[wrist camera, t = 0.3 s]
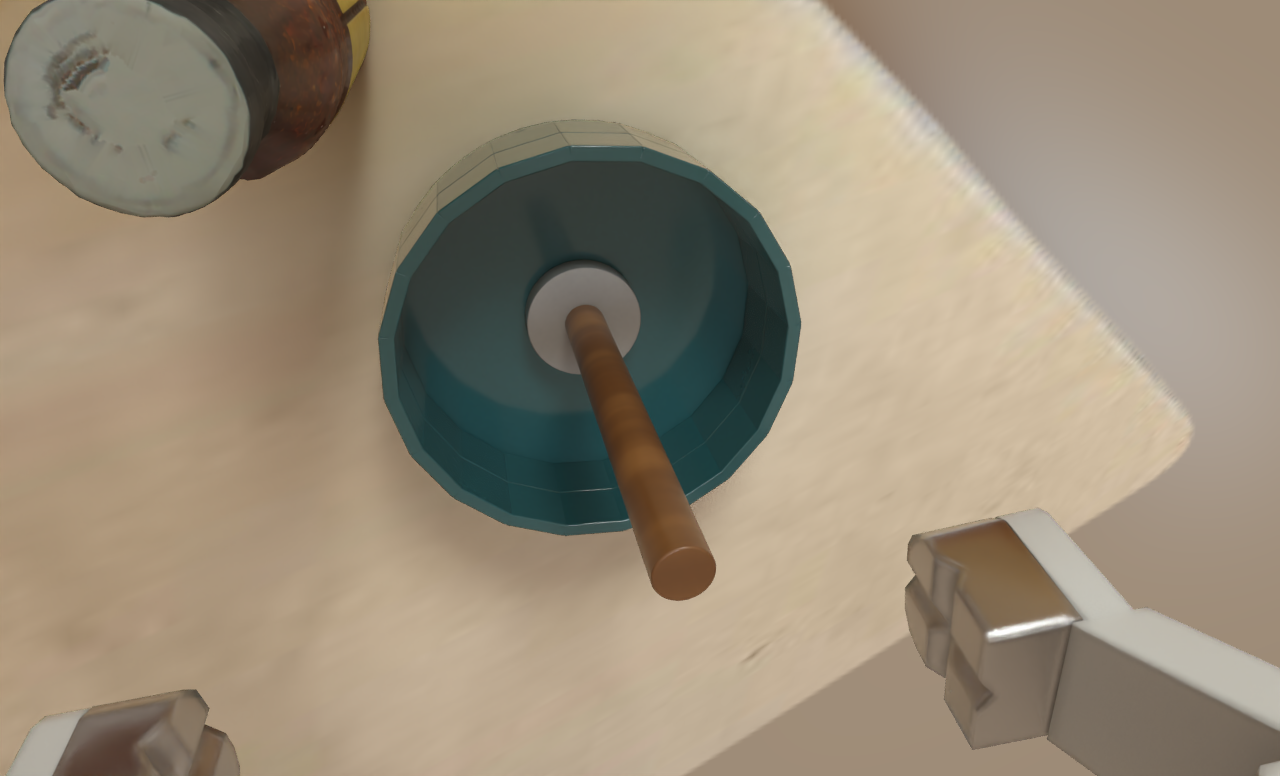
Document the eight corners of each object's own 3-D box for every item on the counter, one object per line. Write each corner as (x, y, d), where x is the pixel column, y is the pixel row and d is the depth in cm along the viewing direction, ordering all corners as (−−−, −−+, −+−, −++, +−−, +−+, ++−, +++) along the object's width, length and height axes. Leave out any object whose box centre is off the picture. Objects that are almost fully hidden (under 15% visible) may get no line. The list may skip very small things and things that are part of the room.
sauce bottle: (171, -68, 30) (-196, -107, 13) (347, -93, 31) (226, -163, 14) (237, 120, 33) (12, 291, 16) (396, 92, 34) (347, 228, 17)
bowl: (322, 190, 35) (301, 230, 30) (712, 67, 36) (757, 85, 31) (468, 509, 43) (471, 584, 38) (781, 401, 44) (827, 460, 39)
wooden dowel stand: (509, 280, 38) (561, 533, 21) (619, 244, 38) (757, 465, 21) (545, 378, 40) (617, 674, 24) (647, 343, 41) (792, 611, 24)
